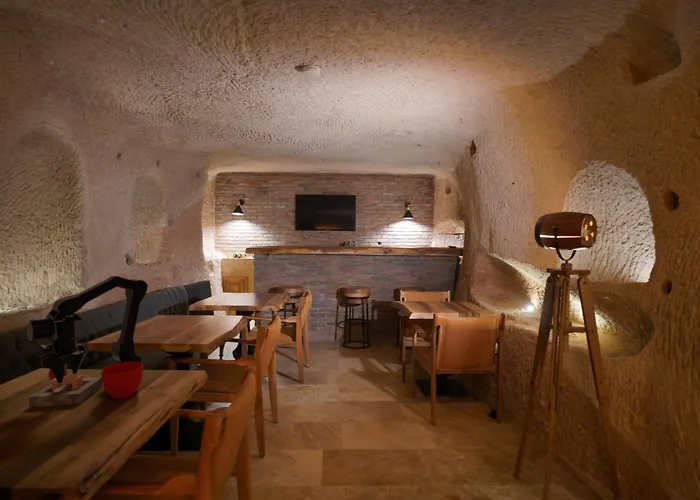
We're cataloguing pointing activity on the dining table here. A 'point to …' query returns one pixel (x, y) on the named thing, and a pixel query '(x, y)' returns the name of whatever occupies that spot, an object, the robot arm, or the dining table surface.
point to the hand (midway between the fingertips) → (67, 378)
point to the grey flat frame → (65, 394)
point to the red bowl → (122, 379)
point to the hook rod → (61, 388)
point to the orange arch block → (69, 382)
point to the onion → (51, 375)
